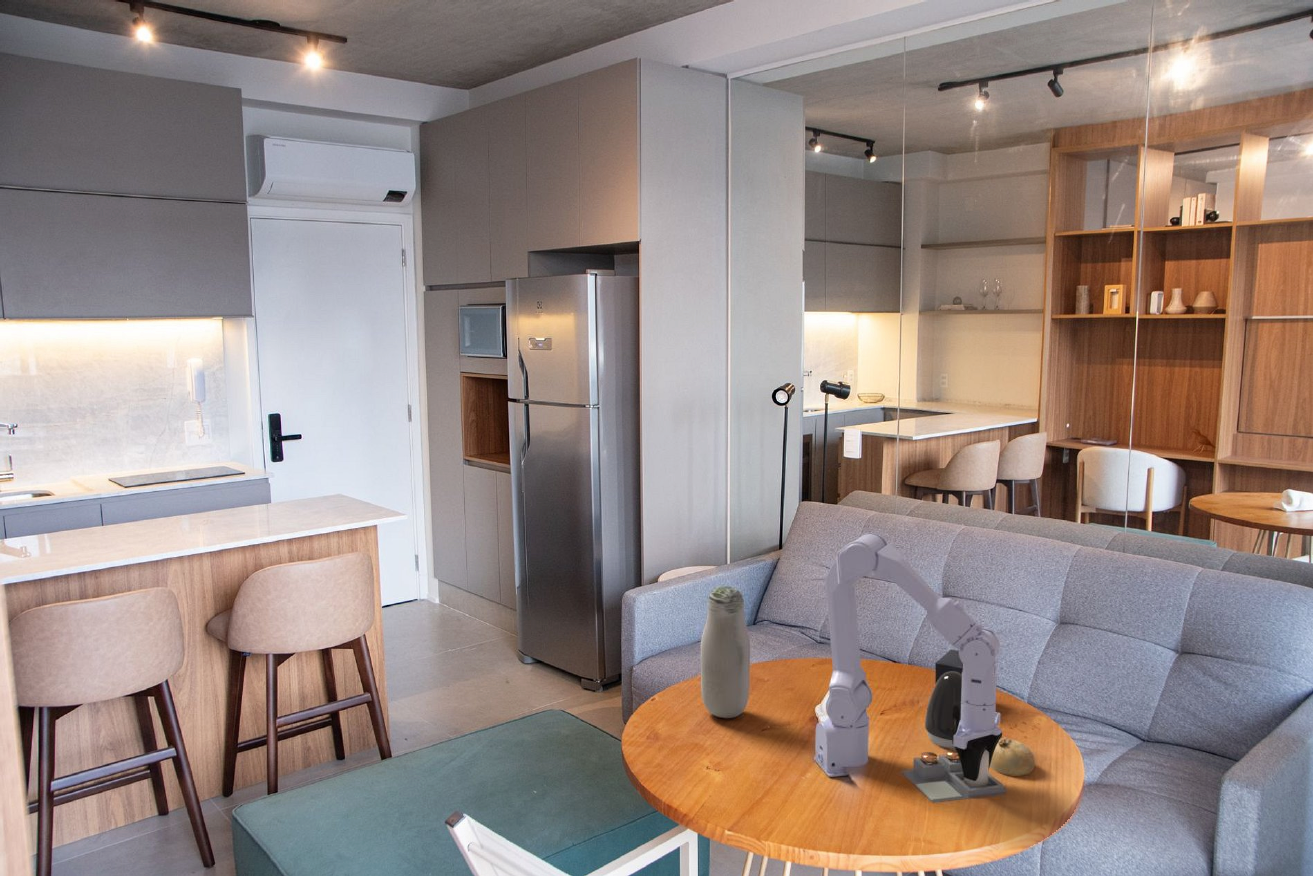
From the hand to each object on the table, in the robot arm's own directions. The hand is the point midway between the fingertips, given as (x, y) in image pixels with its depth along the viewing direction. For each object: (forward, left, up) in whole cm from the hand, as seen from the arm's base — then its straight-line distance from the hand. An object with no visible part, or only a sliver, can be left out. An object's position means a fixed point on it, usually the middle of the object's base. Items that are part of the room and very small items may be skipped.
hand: (976, 774), depth 165 cm
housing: (-3, +2, -3) cm, 5 cm away
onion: (+10, +5, -4) cm, 12 cm away
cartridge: (0, 0, -2) cm, 2 cm away
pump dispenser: (+6, +18, -4) cm, 19 cm away
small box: (+18, +38, -4) cm, 42 cm away
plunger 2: (-1, +6, -1) cm, 6 cm away
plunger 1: (-6, +6, -1) cm, 8 cm away
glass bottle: (-33, +43, -4) cm, 55 cm away
